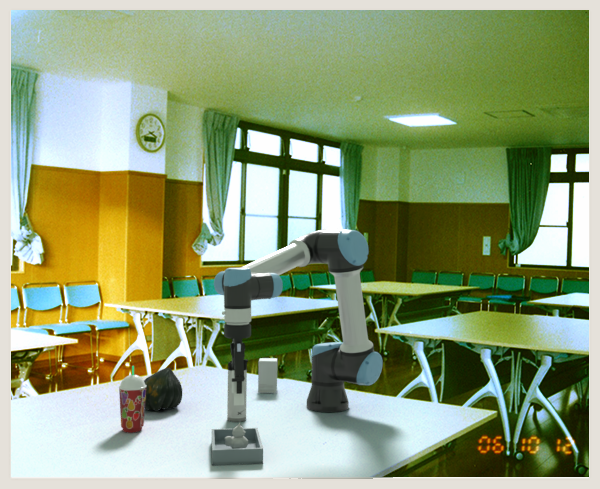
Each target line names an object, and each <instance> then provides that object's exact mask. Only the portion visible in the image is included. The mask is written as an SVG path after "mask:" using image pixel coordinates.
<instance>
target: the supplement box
mask: <svg viewBox="0 0 600 489" xmlns="http://www.w3.org/2000/svg"><path fill="white" fill-rule="evenodd" d="M257 375H258V379H257V380H258V381H257V384H258V385H257V387H258V388H257V393H258V394H277V390H278V357H277V358H275V357H272V358H271V357H270V358H269V357H262V358H261V357H260V358H259V359H258V374H257Z"/></svg>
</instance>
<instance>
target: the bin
mask: <svg viewBox="0 0 600 489" xmlns="http://www.w3.org/2000/svg"><path fill="white" fill-rule="evenodd" d="M233 429H234V428H212V429H211V463H212V464H211V465H212V466H231V465H237V466H238V465H260V464H262V465H263V464H264V447H263V444H262V443H263V442H262V439H261V435H260V432H259V429H258V427H243V430H244V431H245V432H246V433H244V434H245V435H244V437H246V438H247V440H248V445H247V447H246V448H240V449H232V448H231V446H226V445H225V443H226V441H225V437H227V436H231V437H233V434H232V432H233Z"/></svg>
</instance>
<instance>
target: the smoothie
mask: <svg viewBox="0 0 600 489" xmlns="http://www.w3.org/2000/svg"><path fill="white" fill-rule="evenodd" d="M144 380H145V379H143V377H142V376H140V375H138V374H135V365H132V366H131V374H129V375H127V376H125V377H124V378H123V380H121V382H120V385H119V386H118V390H119V410H120V411H119V413H120V426H121V428H122V431H123V432H124V433H127V432H128V434H129V433H130V434H131V433H133V432H134V433H137V432H138V433H139V432H140V431H142V429H143V427H144V424H145V411H146V409H145V399H146V387H147V385H145V382H144Z"/></svg>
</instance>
